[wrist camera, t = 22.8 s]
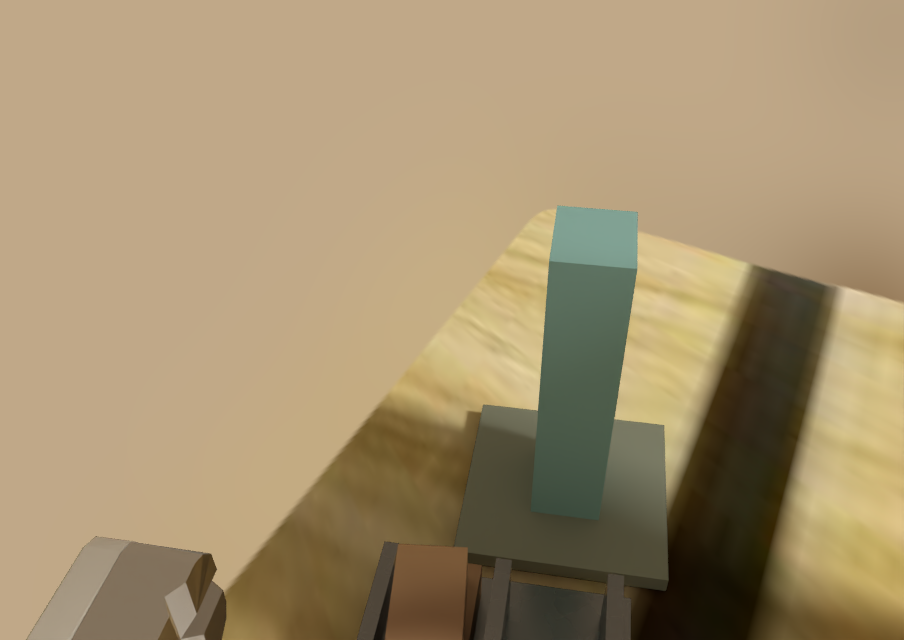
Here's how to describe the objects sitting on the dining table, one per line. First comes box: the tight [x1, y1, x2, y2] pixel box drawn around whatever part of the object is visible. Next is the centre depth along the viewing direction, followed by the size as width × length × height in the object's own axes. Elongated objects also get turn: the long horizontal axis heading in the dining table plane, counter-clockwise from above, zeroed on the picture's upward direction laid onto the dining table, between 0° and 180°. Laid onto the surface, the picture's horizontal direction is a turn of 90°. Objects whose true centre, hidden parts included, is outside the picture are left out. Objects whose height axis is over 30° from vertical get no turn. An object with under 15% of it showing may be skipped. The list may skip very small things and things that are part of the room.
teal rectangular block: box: [531, 206, 638, 520], centre depth 47 cm, size 5×4×18 cm
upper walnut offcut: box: [385, 544, 468, 640], centre depth 41 cm, size 7×4×2 cm, turn 176°
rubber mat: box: [454, 405, 669, 591], centre depth 53 cm, size 12×12×1 cm
